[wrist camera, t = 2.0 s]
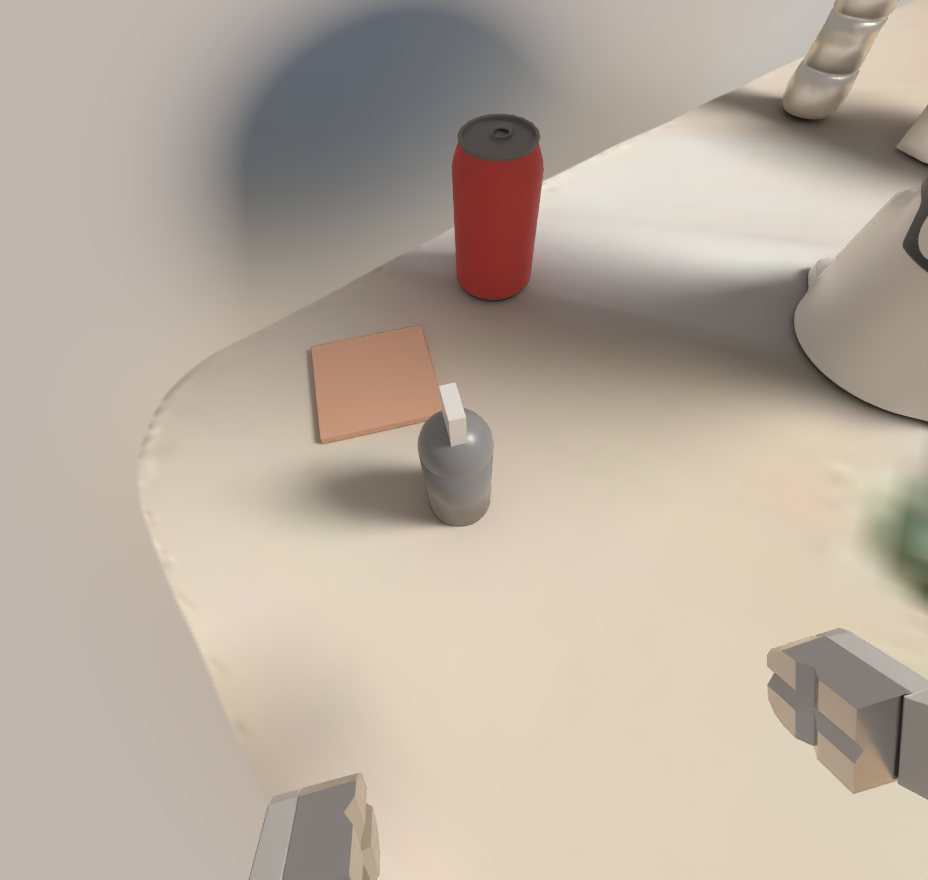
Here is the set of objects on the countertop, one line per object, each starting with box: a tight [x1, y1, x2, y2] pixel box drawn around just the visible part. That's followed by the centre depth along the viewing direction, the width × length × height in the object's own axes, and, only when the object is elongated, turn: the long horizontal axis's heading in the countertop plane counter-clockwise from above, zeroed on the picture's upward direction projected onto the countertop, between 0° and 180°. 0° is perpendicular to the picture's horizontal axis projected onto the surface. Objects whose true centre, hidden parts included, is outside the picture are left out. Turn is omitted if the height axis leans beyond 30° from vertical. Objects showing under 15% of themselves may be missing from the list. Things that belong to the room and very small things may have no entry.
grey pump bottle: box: [418, 382, 493, 527], centre depth 25 cm, size 4×4×11 cm
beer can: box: [452, 114, 544, 300], centre depth 35 cm, size 7×7×12 cm
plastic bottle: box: [783, 0, 899, 119], centre depth 46 cm, size 6×7×20 cm
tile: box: [311, 325, 442, 444], centre depth 35 cm, size 9×9×1 cm
